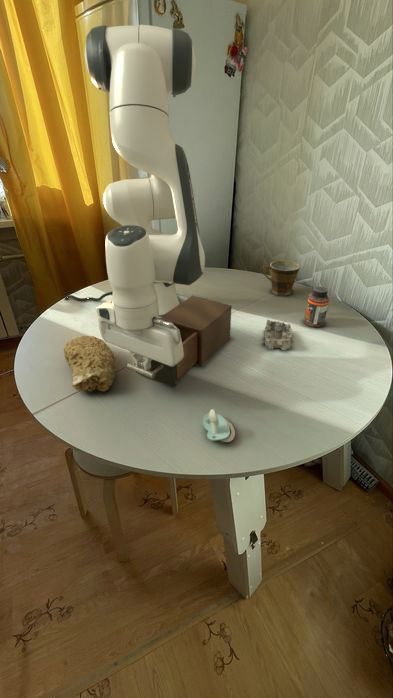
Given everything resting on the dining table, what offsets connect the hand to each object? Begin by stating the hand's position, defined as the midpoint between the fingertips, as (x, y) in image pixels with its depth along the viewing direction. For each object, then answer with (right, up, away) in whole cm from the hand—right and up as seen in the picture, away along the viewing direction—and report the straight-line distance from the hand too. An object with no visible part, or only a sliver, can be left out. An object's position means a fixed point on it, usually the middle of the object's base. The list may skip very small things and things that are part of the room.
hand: (143, 367), depth 78 cm
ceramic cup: (+41, +25, +49) cm, 68 cm away
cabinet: (+12, +5, +20) cm, 24 cm away
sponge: (-15, -2, +11) cm, 18 cm away
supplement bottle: (+48, +12, +30) cm, 57 cm away
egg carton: (+34, +7, +22) cm, 41 cm away
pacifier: (+16, -13, -7) cm, 22 cm away
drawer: (+4, -1, +9) cm, 10 cm away
